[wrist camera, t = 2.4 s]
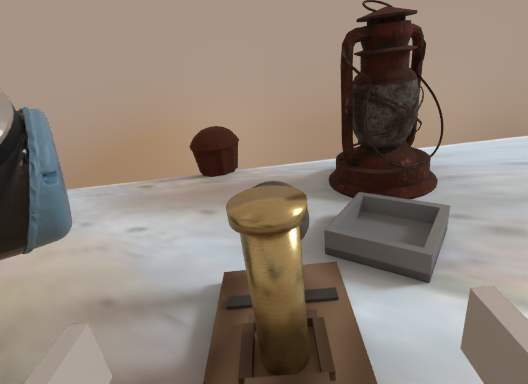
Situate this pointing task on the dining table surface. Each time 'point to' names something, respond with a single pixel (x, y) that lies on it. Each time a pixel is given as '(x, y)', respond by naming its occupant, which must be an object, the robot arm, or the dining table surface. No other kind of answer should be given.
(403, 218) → the tray
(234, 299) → the board
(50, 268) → the dining table surface
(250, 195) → the lock pin
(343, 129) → the lantern
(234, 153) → the muffin
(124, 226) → the dining table surface
